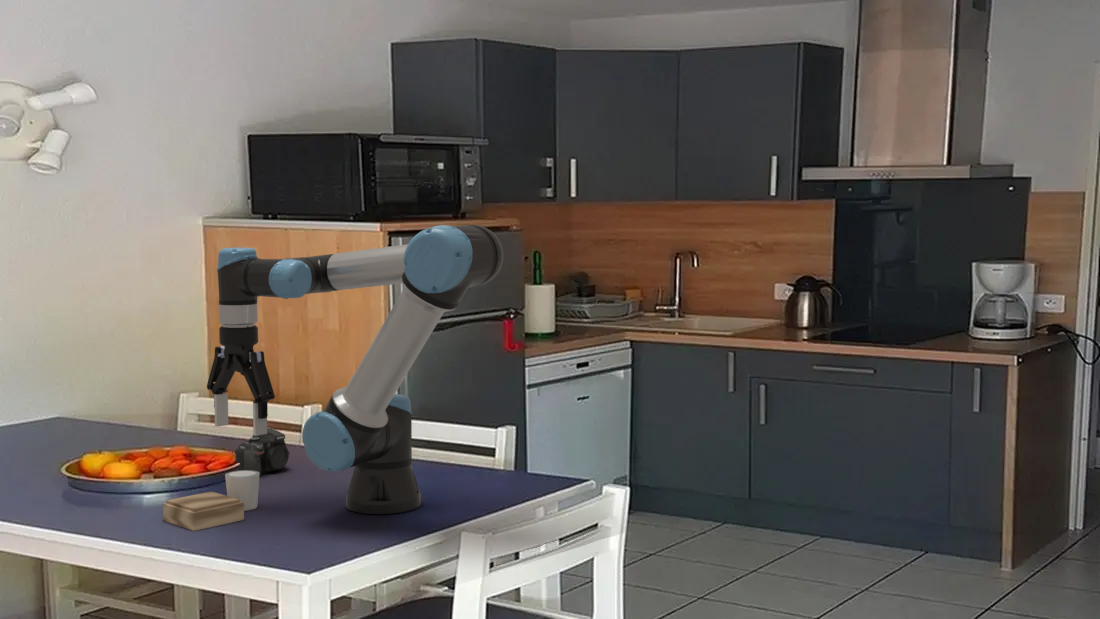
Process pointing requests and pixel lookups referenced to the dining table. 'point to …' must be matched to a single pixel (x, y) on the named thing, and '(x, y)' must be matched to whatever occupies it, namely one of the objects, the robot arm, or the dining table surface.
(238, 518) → the stand
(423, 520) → the dining table surface
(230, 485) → the shot glass
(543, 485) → the dining table surface
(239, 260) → the robot arm
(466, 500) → the dining table surface
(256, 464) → the camera
